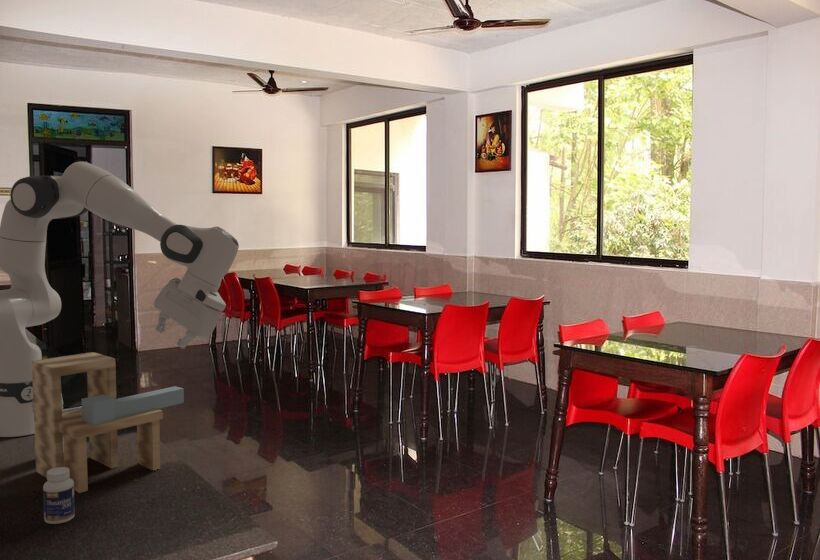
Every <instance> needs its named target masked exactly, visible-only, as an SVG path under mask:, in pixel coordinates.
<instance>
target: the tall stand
mask: <svg viewBox="0 0 820 560" xmlns="http://www.w3.org/2000/svg"><path fill="white" fill-rule="evenodd" d="M116 363H117V362H116V358H114V357H111V356H108V355H105V354H101V353H98V352H93V351H91V352H85V353H83V352H82V353H77V354H70V355H62V356H57V357H55V356H54V357H50V358H42V359H41V360H34V361H32V378H33V405H34V431H35V434H34V457H35V472H36V473H37V474H39V475H41V476H42V477H44V478H46V479H47V471H48V470H50V469H53V468H57V467H64V453H63V433H61V432H59V423H60V422H64V421H69V420H74V419H78V418H82V408H79V409H75V410H70V411H65V412H63V410H62V401H61V393H62V380H61V379H62V377H64V376H69V375H76V374H81V373H86V376H87V378H86V379H87V383H86V384H87V398H88V397H92V396H97V395H102V394H104V395H107V396H110V397H113V398H115V399H117V376H116V375H117V371H116V366H117V365H116ZM118 443H119V442H118V430H114V431H110V432H106V433H102V434H98V435H93V436H89V437H88V444H89V445H88V446H89V449H88V450H89V458H90V459H91V460H93V461H96V462H97V461H98V462H97V463H99V462H100V463H99V464H101V463H102V465H103V464H104V466H105V465H106V466H105V467H107V466H108V468H110V469H116V468H118V467H119V449H118V448H119V447H118V445H119V444H118ZM115 467H116V468H115Z"/></svg>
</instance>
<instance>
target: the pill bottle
mask: <svg viewBox="0 0 820 560" xmlns="http://www.w3.org/2000/svg"><path fill="white" fill-rule="evenodd" d="M69 476H70V470H69V468H67V467H57V468H53V469H50V470H48V471H47V478H46V480H47V481H46V482H44V484H43V486H42V492H43V519H44V522H45V523H47V524H49V525H50V524H52V525H58V524H63V523H67V522H70V521H71V520H72V519H74V518H75V515H76V513H75V512H76V511H75V510H76V509H75V508H76V507H75V502H76V501H75V490H74V481H73V480H72V479H71V478H69Z"/></svg>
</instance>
